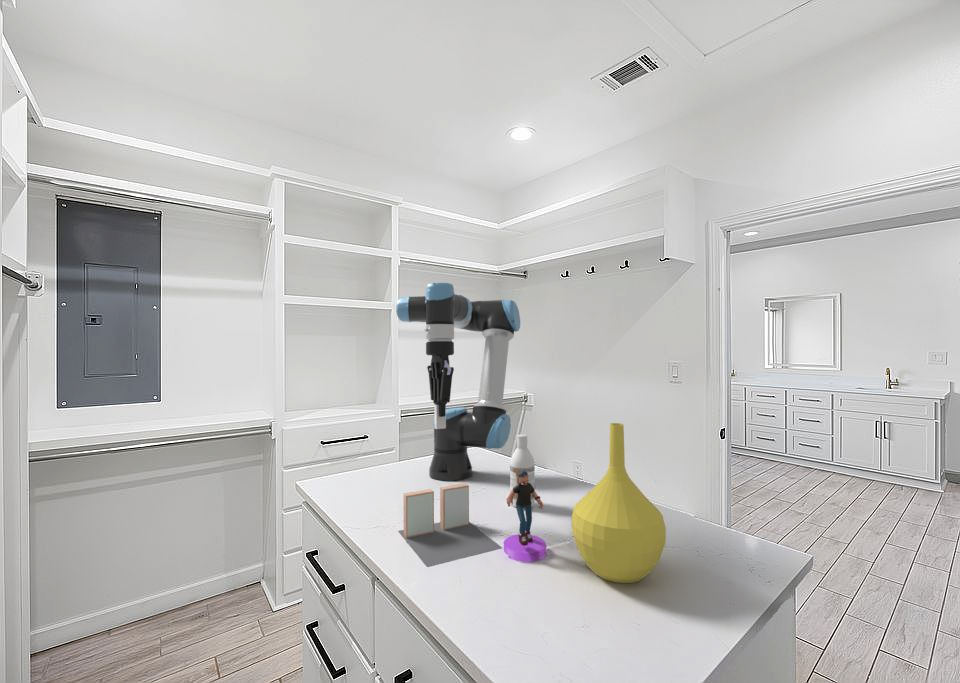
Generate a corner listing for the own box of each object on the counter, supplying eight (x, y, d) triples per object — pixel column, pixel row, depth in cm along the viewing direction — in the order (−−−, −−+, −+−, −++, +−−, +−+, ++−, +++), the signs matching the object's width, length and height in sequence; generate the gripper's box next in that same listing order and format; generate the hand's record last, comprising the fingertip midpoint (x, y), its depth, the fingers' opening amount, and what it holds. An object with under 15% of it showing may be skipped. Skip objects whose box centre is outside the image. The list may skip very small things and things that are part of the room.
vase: (656, 607, 79) (655, 437, 79) (558, 578, 88) (557, 427, 88) (673, 563, 94) (672, 421, 94) (588, 543, 104) (587, 414, 104)
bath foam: (506, 503, 130) (505, 434, 130) (527, 499, 133) (526, 432, 133) (517, 511, 124) (516, 438, 124) (539, 507, 126) (538, 436, 126)
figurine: (515, 564, 94) (514, 478, 94) (497, 546, 102) (496, 467, 103) (553, 556, 97) (553, 473, 97) (533, 539, 106) (532, 463, 106)
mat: (464, 518, 118) (464, 517, 118) (502, 549, 101) (502, 547, 101) (397, 532, 110) (397, 530, 110) (427, 568, 92) (427, 566, 92)
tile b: (430, 529, 111) (430, 488, 111) (434, 532, 109) (434, 491, 109) (403, 535, 108) (403, 493, 108) (406, 538, 106) (406, 496, 106)
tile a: (465, 522, 115) (465, 483, 115) (469, 525, 113) (469, 485, 113) (440, 527, 112) (440, 487, 112) (443, 530, 110) (443, 489, 110)
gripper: (418, 340, 125) (418, 425, 125) (436, 340, 113) (436, 433, 113) (443, 340, 128) (443, 423, 128) (462, 340, 117) (463, 431, 117)
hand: (440, 428), depth 121 cm, fingers closed
